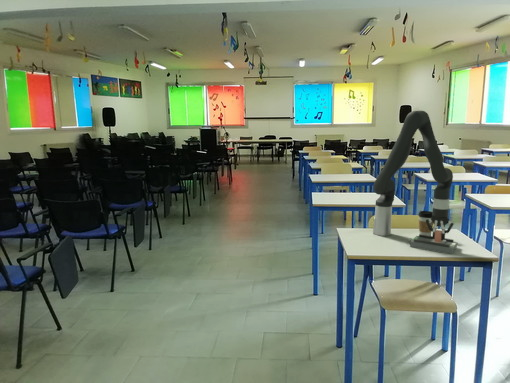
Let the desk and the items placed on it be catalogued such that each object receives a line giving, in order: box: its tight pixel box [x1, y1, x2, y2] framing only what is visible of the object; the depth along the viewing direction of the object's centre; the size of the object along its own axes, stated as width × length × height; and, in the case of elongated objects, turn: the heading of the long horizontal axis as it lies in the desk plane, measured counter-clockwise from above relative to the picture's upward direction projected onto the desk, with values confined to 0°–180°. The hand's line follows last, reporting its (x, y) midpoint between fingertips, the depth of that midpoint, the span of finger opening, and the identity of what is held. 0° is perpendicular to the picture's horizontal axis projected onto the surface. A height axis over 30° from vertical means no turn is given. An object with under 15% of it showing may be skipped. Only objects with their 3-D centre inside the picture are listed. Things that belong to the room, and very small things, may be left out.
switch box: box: [409, 234, 458, 255], centre depth 202 cm, size 20×12×4 cm, turn 53°
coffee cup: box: [417, 210, 434, 236], centre depth 218 cm, size 8×8×15 cm
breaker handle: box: [431, 229, 446, 244], centre depth 200 cm, size 6×7×6 cm
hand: (438, 239), depth 200 cm, fingers closed on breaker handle, 3 cm apart
